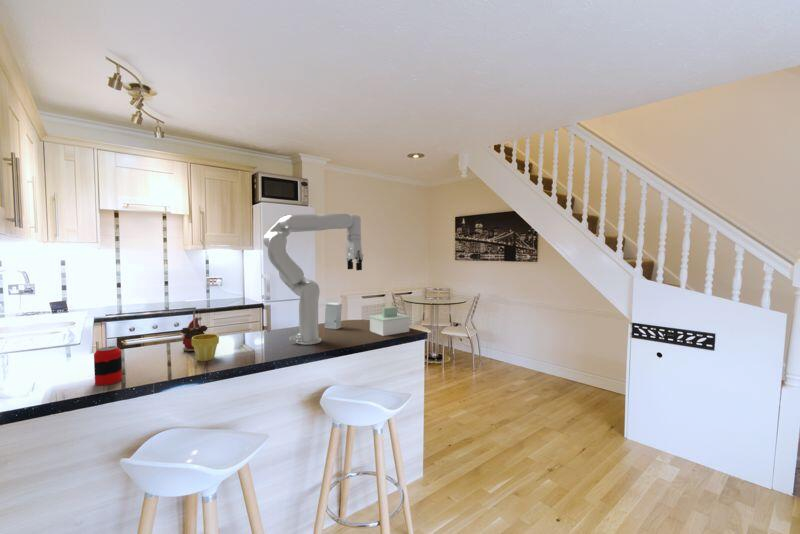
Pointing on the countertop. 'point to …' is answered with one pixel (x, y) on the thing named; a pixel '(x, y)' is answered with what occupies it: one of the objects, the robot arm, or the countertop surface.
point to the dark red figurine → (192, 332)
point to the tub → (389, 326)
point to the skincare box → (333, 315)
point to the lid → (389, 315)
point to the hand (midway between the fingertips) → (354, 269)
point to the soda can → (108, 365)
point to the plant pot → (205, 346)
